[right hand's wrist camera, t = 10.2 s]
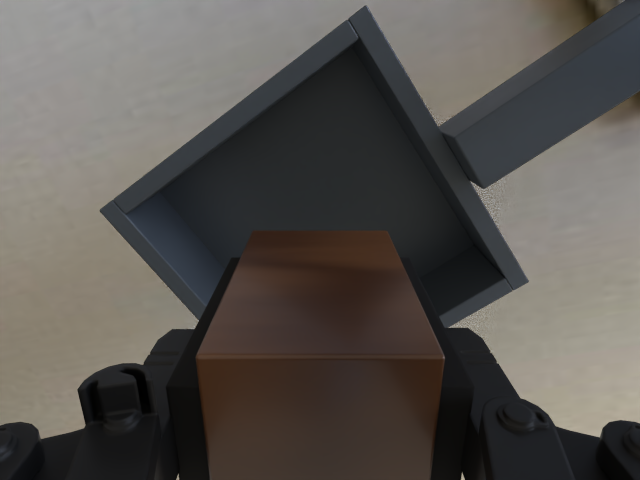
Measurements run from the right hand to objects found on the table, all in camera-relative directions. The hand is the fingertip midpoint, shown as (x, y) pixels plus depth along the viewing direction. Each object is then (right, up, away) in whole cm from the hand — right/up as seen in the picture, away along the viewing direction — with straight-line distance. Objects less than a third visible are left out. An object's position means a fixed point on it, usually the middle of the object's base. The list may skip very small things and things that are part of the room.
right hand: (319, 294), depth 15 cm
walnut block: (0, 0, 0) cm, 0 cm away
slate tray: (+7, +8, +7) cm, 12 cm away
